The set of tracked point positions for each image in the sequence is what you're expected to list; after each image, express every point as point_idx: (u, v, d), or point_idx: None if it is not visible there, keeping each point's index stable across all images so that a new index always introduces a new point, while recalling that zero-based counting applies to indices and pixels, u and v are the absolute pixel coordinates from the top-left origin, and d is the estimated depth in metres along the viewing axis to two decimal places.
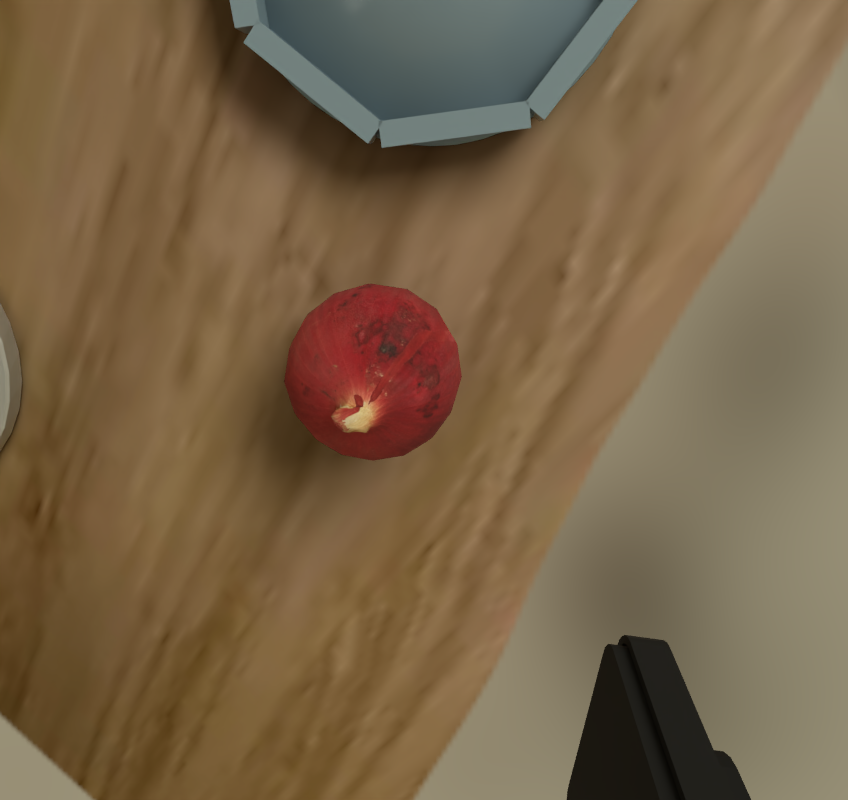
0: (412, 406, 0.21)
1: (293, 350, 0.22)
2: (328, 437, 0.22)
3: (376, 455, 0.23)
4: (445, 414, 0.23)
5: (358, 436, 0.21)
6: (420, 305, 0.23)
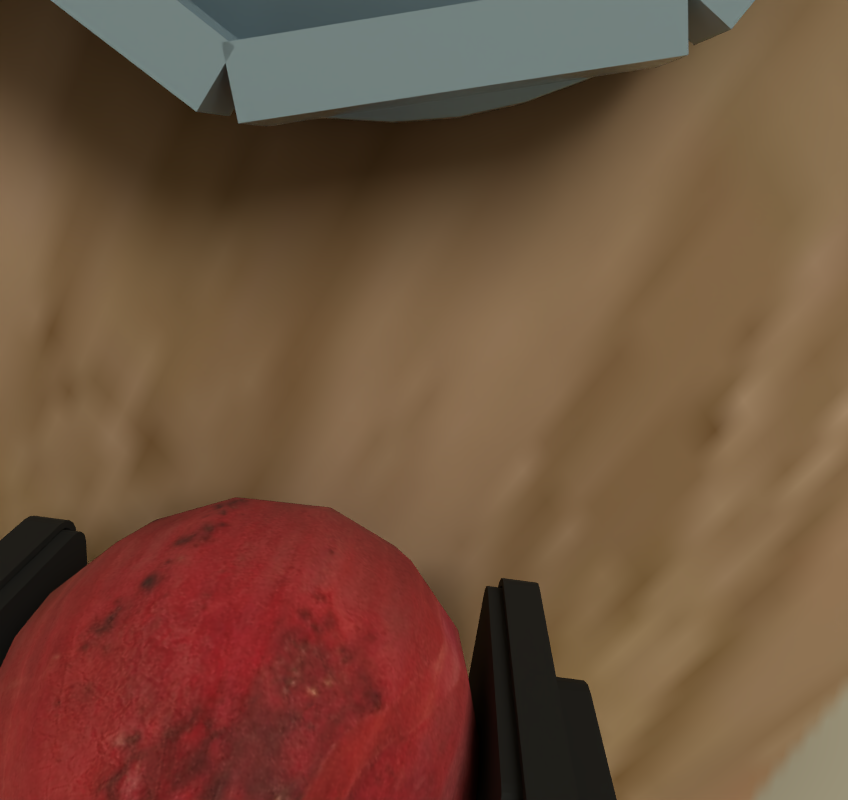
0: None
1: None
2: None
3: None
4: None
5: None
6: (357, 595, 0.08)
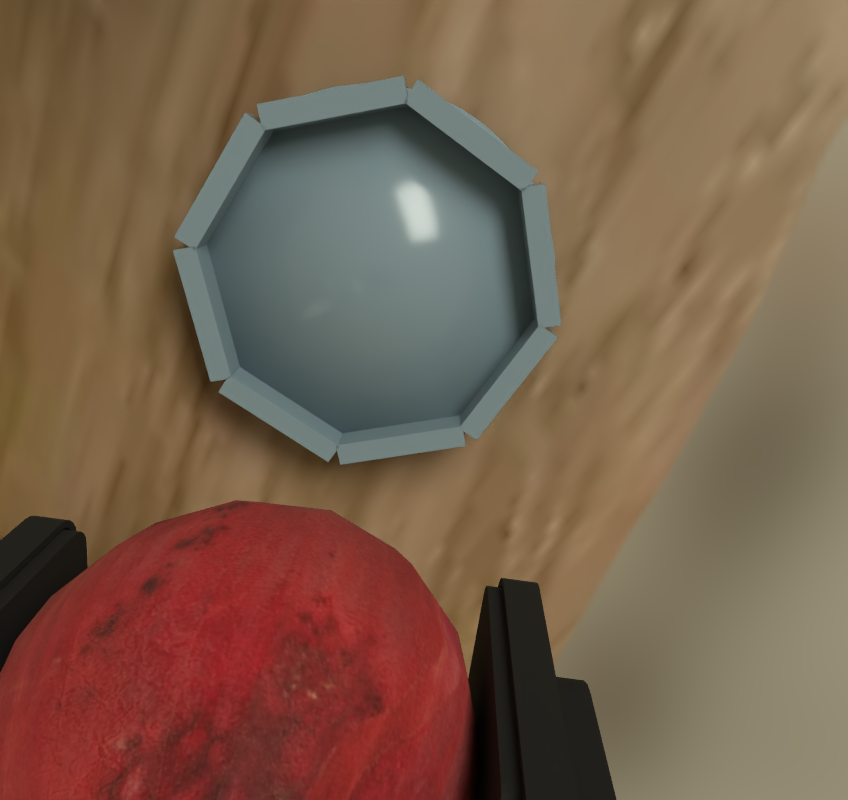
0: None
1: None
2: None
3: None
4: None
5: None
6: (357, 599, 0.08)
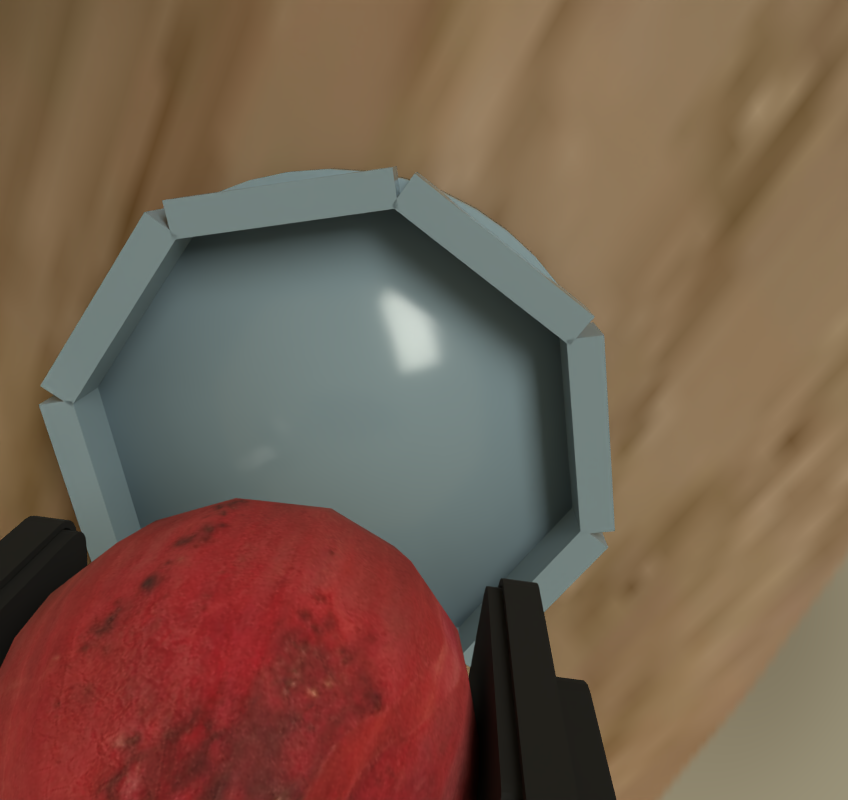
0: None
1: None
2: None
3: None
4: None
5: None
6: (357, 596, 0.07)
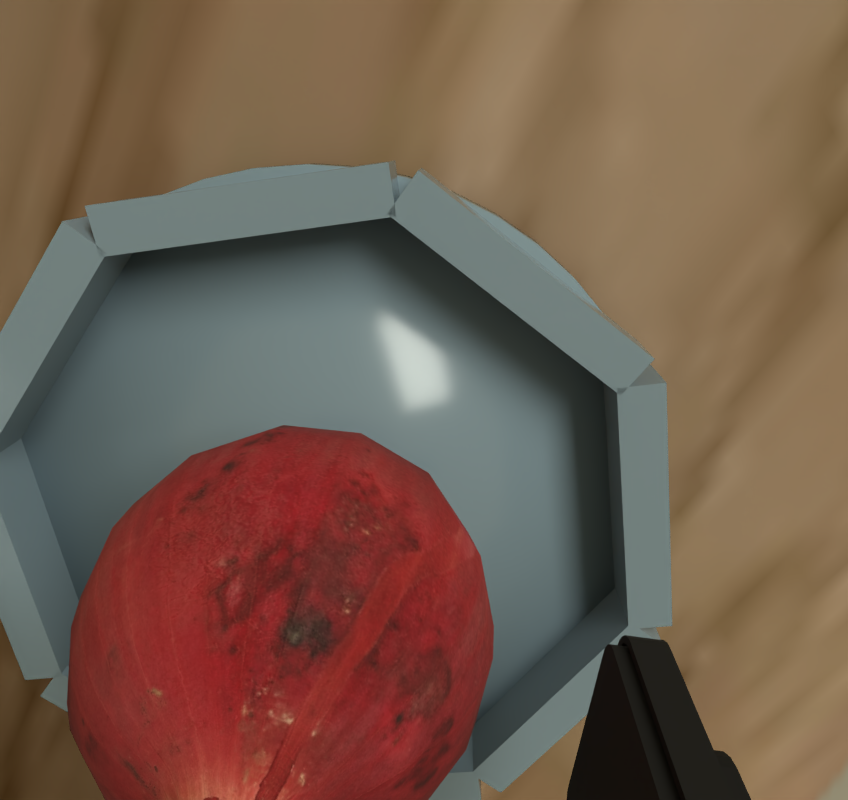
0: (384, 782, 0.08)
1: (77, 612, 0.09)
2: None
3: None
4: (466, 744, 0.09)
5: None
6: (392, 479, 0.09)
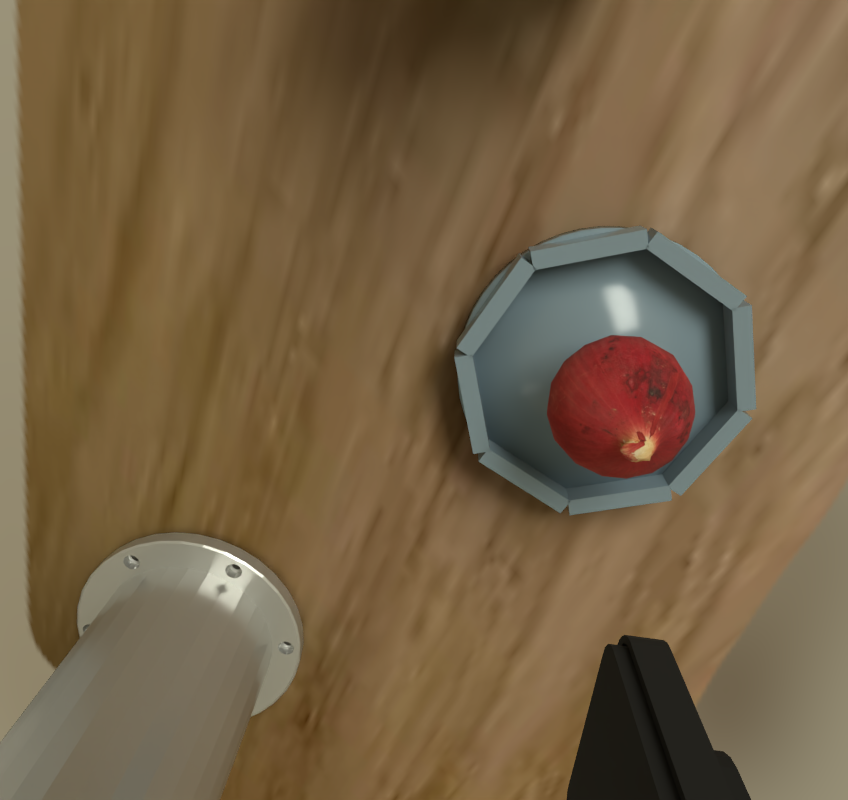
0: (675, 435, 0.26)
1: (564, 397, 0.28)
2: (601, 464, 0.27)
3: (636, 475, 0.28)
4: (688, 437, 0.28)
5: (631, 462, 0.27)
6: (661, 351, 0.28)
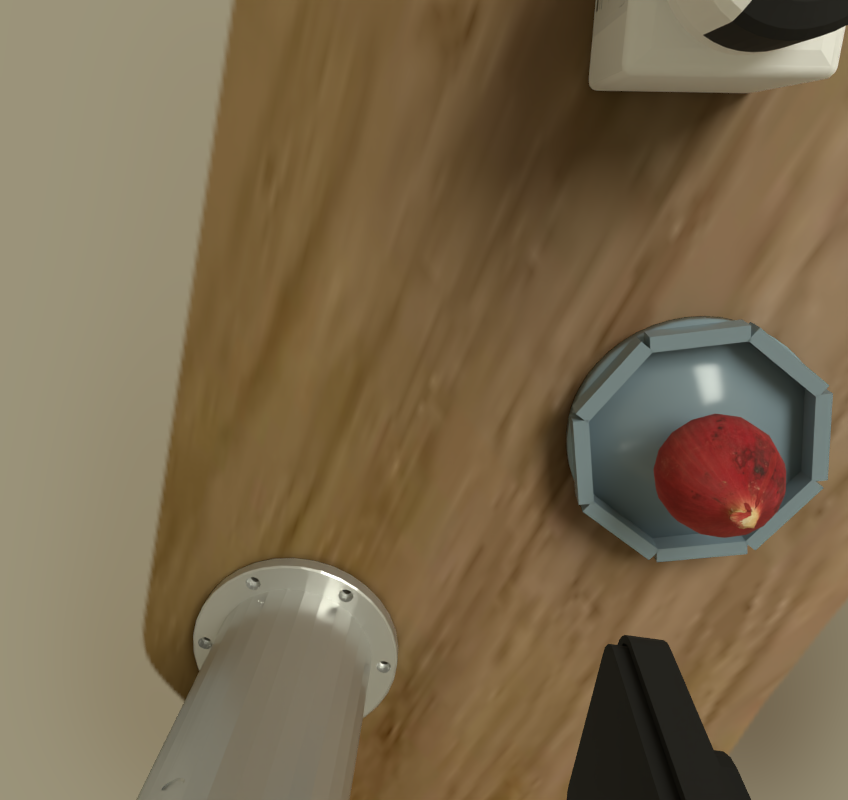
0: (773, 506, 0.31)
1: (676, 465, 0.33)
2: (706, 526, 0.32)
3: (732, 536, 0.33)
4: None
5: (733, 527, 0.32)
6: (761, 432, 0.33)
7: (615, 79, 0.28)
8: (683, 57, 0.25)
